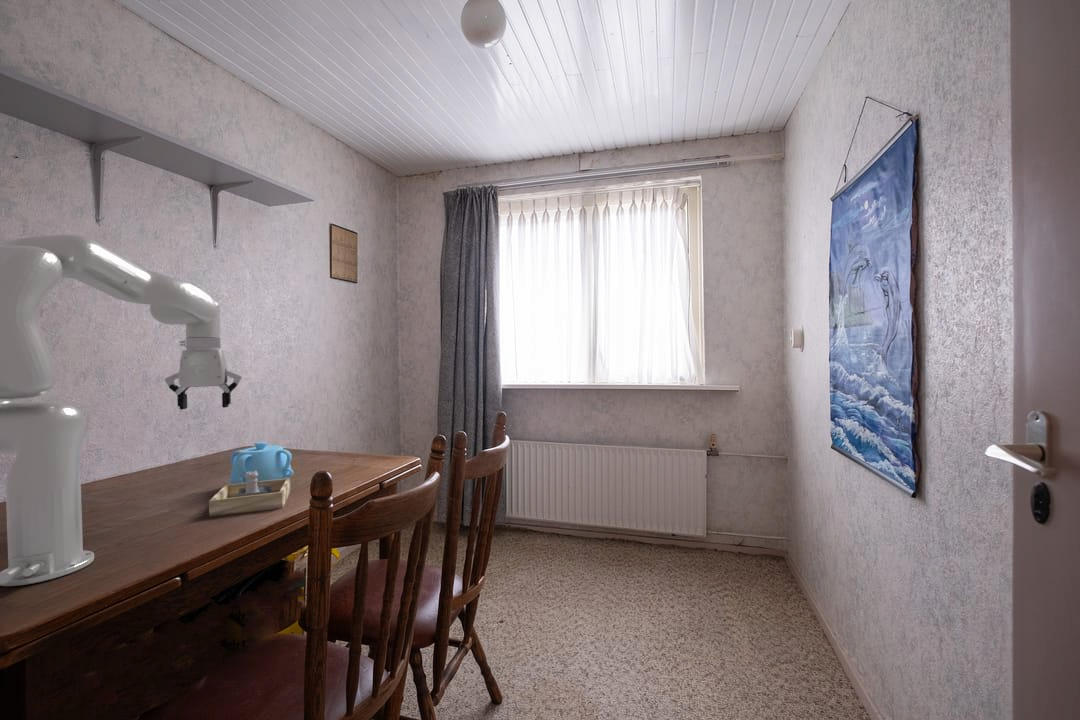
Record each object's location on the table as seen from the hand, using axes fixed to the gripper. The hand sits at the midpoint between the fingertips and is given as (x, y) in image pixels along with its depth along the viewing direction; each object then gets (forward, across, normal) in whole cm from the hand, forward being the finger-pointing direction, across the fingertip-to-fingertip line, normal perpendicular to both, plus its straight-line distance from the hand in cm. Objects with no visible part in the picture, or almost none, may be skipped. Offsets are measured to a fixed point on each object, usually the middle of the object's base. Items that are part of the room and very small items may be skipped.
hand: (204, 408), depth 125 cm
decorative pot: (+26, +10, +14) cm, 31 cm away
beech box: (+26, +12, -5) cm, 29 cm away
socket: (+26, +12, -5) cm, 29 cm away
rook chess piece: (+26, +12, -5) cm, 29 cm away
